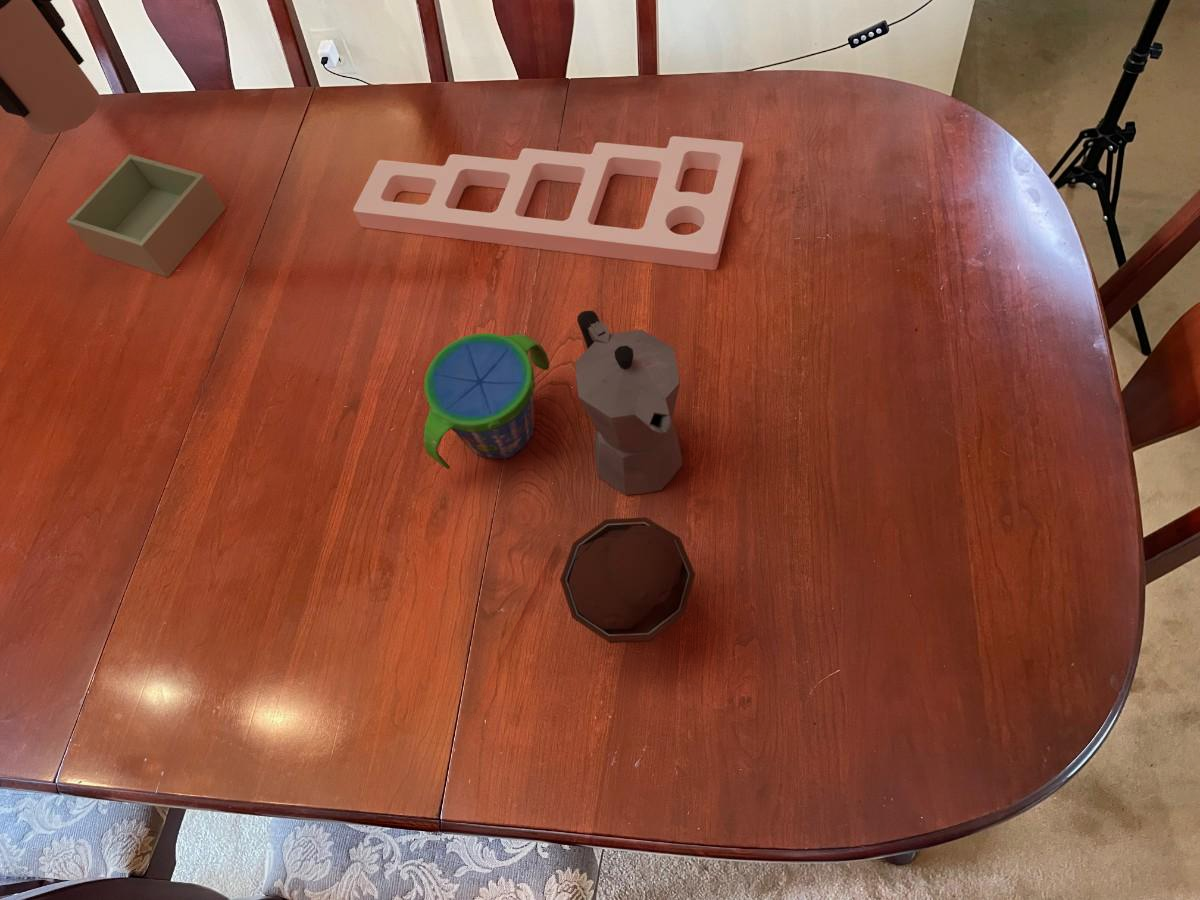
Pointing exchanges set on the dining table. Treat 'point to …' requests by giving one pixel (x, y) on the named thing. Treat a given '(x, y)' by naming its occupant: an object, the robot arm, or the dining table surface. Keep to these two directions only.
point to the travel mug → (42, 71)
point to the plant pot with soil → (627, 580)
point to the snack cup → (483, 394)
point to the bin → (147, 214)
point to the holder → (579, 228)
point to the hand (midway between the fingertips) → (45, 85)
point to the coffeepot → (629, 405)
